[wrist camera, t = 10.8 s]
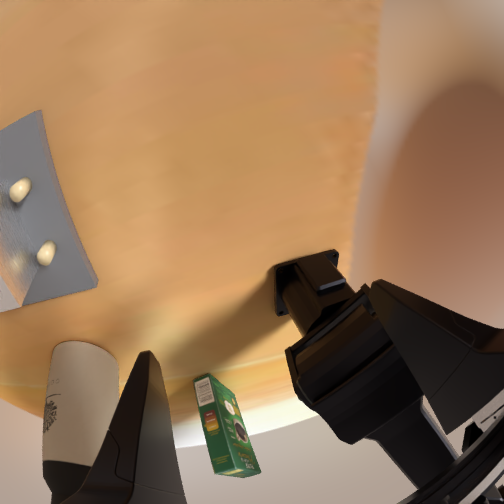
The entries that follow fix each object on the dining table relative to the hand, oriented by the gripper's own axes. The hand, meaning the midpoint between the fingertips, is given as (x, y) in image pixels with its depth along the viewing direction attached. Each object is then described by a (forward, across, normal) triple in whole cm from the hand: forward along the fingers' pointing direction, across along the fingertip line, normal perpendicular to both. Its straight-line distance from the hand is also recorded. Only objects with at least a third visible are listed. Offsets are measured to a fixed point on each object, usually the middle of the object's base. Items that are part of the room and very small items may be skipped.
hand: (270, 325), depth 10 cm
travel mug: (+12, +18, +13) cm, 26 cm away
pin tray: (+12, +16, -4) cm, 20 cm away
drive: (+10, +16, -4) cm, 20 cm away
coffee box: (+12, +6, +25) cm, 28 cm away
